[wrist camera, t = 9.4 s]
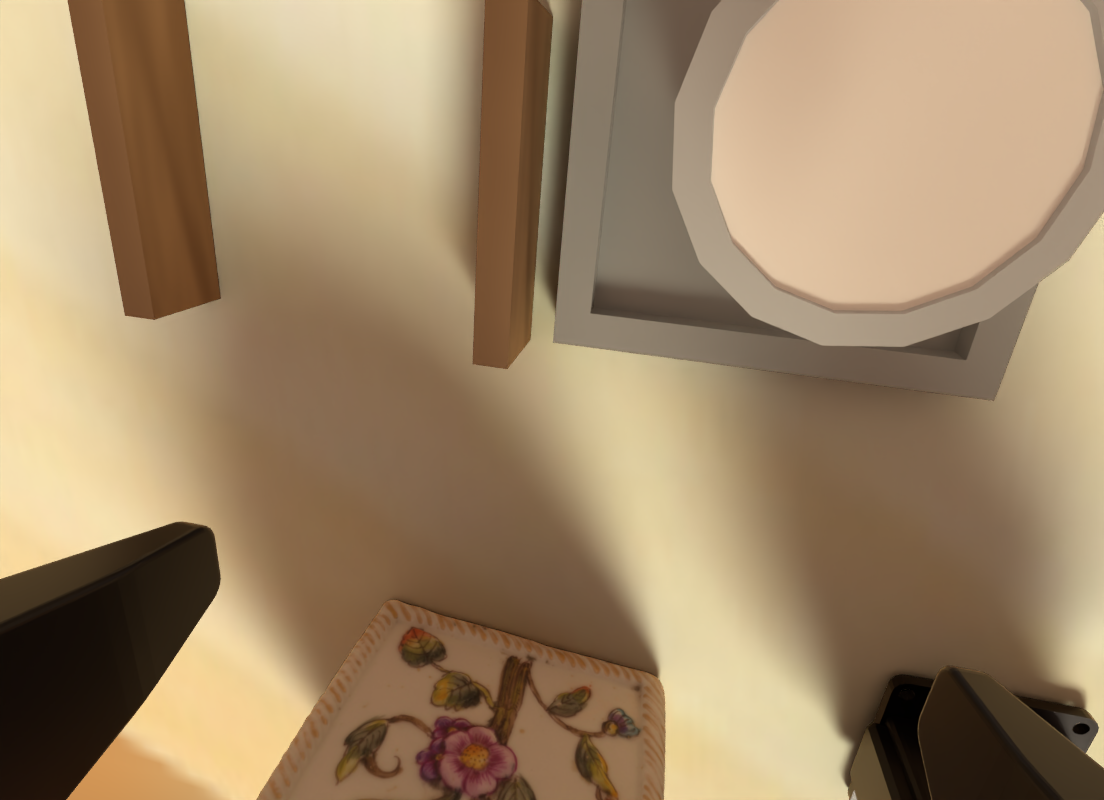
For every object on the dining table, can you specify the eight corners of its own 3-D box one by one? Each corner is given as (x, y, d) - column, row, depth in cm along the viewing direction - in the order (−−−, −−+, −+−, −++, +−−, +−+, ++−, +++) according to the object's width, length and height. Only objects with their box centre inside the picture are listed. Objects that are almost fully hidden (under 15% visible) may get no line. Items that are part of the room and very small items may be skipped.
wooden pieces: (552, 17, 17) (528, -10, 14) (530, 339, 20) (507, 369, 17) (152, -7, 18) (61, -34, 16) (194, 294, 22) (124, 315, 19)
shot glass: (647, 252, 18) (630, 308, 11) (708, -33, 15) (733, -169, 9) (896, 300, 17) (1030, 388, 11) (1008, 9, 14) (1274, -106, 8)
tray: (1151, -134, 14) (1208, -169, 12) (968, 380, 18) (994, 400, 17) (604, -146, 15) (596, -178, 14) (562, 328, 20) (553, 342, 18)
